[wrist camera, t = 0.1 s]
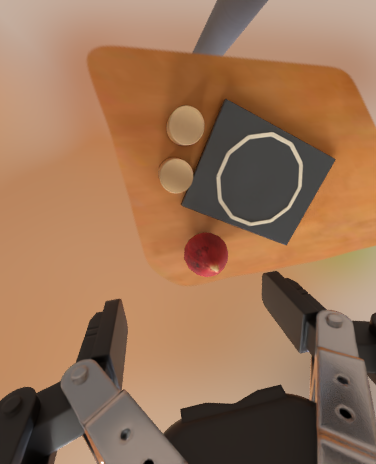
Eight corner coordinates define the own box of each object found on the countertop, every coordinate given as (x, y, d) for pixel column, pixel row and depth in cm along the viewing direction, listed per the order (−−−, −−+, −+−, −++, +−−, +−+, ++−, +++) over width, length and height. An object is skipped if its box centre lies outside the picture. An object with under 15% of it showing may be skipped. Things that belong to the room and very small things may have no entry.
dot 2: (164, 152, 29) (166, 152, 26) (193, 164, 30) (198, 166, 27) (153, 181, 30) (154, 186, 27) (181, 193, 31) (185, 198, 28)
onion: (180, 261, 35) (189, 292, 27) (181, 225, 33) (191, 248, 25) (217, 260, 36) (235, 289, 28) (220, 224, 34) (240, 246, 26)
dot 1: (173, 104, 27) (177, 98, 24) (203, 119, 29) (210, 115, 25) (161, 137, 28) (163, 136, 25) (190, 150, 30) (196, 151, 26)
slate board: (223, 99, 28) (226, 98, 27) (331, 158, 33) (336, 159, 32) (180, 204, 32) (181, 205, 31) (283, 243, 37) (286, 245, 36)
